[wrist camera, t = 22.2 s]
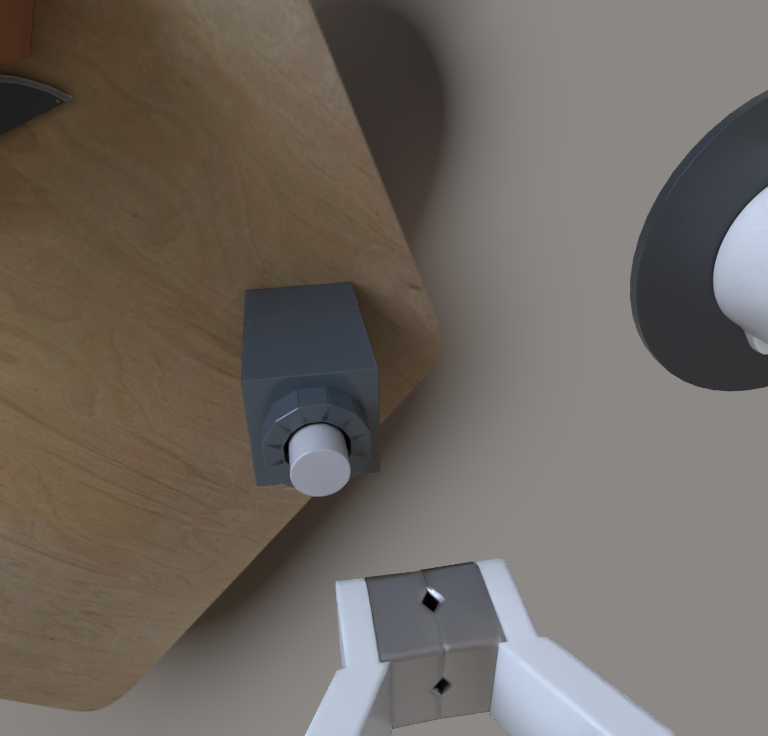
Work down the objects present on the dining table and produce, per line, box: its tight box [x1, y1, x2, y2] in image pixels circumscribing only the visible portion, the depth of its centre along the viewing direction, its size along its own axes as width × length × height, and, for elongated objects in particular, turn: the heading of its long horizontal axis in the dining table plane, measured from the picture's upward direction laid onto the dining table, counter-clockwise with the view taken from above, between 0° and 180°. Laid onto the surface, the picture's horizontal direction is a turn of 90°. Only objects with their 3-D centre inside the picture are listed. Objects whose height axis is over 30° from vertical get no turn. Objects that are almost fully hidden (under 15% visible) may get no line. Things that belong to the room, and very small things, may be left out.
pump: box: [288, 423, 351, 496], centre depth 36 cm, size 3×3×3 cm
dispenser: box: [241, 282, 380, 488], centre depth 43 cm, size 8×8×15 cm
